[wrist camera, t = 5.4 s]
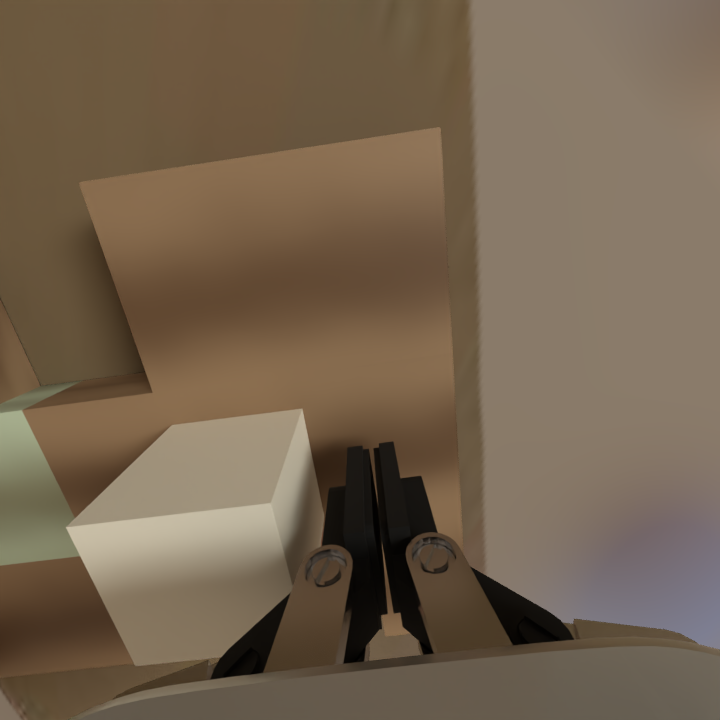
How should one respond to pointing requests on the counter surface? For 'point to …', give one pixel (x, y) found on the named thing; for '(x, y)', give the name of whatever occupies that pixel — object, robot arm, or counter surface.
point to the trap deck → (235, 355)
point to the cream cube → (203, 534)
